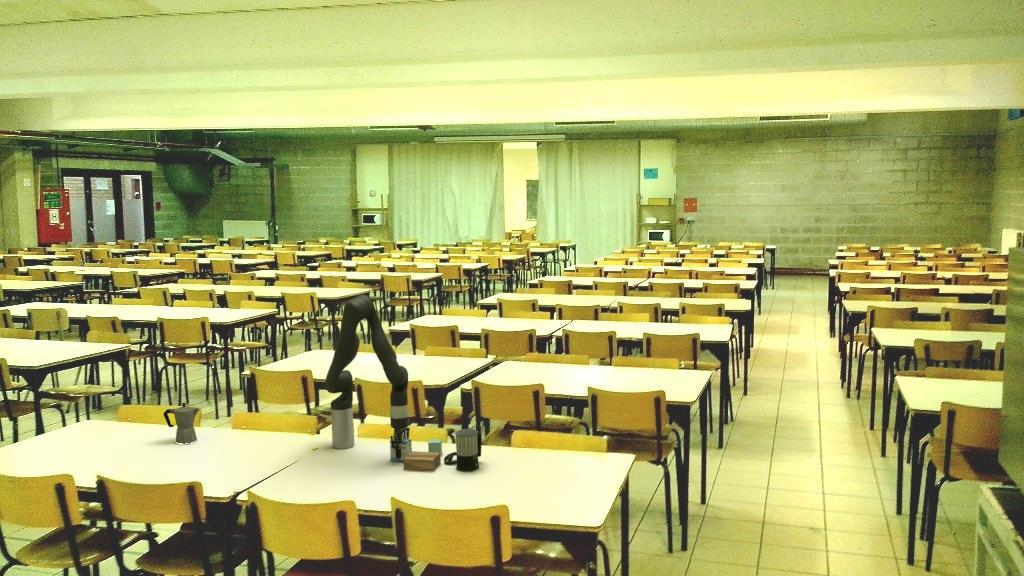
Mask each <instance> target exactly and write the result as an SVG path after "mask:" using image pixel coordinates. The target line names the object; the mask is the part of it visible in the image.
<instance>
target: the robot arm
mask: <svg viewBox="0 0 1024 576" xmlns="http://www.w3.org/2000/svg"><path fill="white" fill-rule="evenodd" d="M364 319H366V321H367V323H368V325H369V330H370V337H371V345H372V346H371V347H372V350H373V351H374V353H375V356H376V357H377V359H378V361H379V362H380V365H381V366H382V369H383V372H384V374H385V377H386V379H387V380H388V382H389V383H390V384H391V391H390V395H389V397H390V398H389V400H390V401H389V402H390V403H389V404H390V409H389V412H390V413H389V414H390V415H389V416H390V427H391V429H393V435H390V440H391V443H392V448H393V449H395V452H396V458H401V443H402V441H403V439H410V429H411V428H410V414H409V413H410V412H409V410H410V409H409V402H408V401H409V400H408V399H409V397H408V389H409V372H408V370H407V368H406V367H405V366H403V365H399V363H398V359H397V358H398V357H397V354H396V351H395V350H394V348H393V347H392V345H391V343H390V342H389V339H388V337H387V336H386V333H385V331H384V328H383V326H382V325H383V324H382V323H381V320H380V317H379V314H378V312H377V310H376V307H375V305H374V302H373V300H372V299H371V298H370V297H369V296H368V295H366V294H359V295H358V296H356V297H353V298H351V299H350V300H348V301H347V302H346V303H345V304H344V306H343V309H342V317H341V325H340V329H339V334H338V338H337V340H336V341H337V342H336V345H335V347H334V353H333V358H332V361H331V363H330V365H329V369H328V371H327V374H326V377H325V389H326V392H328V393H330V394H339V395H338V397H336V398H335V399H333V400H331V402H330V415H331V416H330V421H331V422H330V423H331V440H332V441H331V442H332V443H331V444H332V448H334V449H336V448H337V449H336V450H345V449H350V448H353V447H354V446H355V427H354V426H355V425H354V412H353V411H354V410H353V400H354V394H353V393H354V392H353V391H354V390H353V389H354V379H353V375H352V373H351V371H350V370H347V369H346V367H348V366H349V365H350V364H351V363H352V362H353V361H354V360H355V358H356V357H357V355H358V352H359V348H360V345H361V344H360V343H361V342H360V338H359V335H358V333H357V329H358V326H359V324H360V322H362V321H363V320H364ZM398 440H400V441H398ZM398 443H399V444H398ZM394 444H395V445H394Z"/></svg>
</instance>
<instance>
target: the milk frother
mask: <svg viewBox="0 0 1024 576" xmlns="http://www.w3.org/2000/svg"><path fill="white" fill-rule="evenodd" d="M454 434H455V447H456V448H455V450H456V451H453V452H451V453H448V454H446V456H444V458H443V463H445V464H446V465H451V466H453V465H456V467H455V469H456V470H457V471H459V472H464V473H465V472H473V471H477V470H479V469H480V465H479V464H480V463H479V457H482V433H480V431H478V430H477V429H473V428H462V429H458V430H456V431H455V432H454ZM454 456H456V460H453V459H454ZM452 460H453V461H452Z"/></svg>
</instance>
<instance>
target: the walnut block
mask: <svg viewBox="0 0 1024 576" xmlns="http://www.w3.org/2000/svg"><path fill="white" fill-rule="evenodd" d="M441 459H442V458H441V457H440V453H437V452H428V451H417V450H416V451H413V450H412V452H411V453H410V454H408V455H407V456H406V457H405V458H404V462H403V471H405V470H407V471H410V472H423V471H433V472H434V471H436V469H437V468H439V466H440V465H441V463H442V461H441ZM407 471H406V472H407Z"/></svg>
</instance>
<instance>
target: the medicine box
mask: <svg viewBox="0 0 1024 576" xmlns="http://www.w3.org/2000/svg"><path fill="white" fill-rule="evenodd" d="M398 441H400V440H398ZM398 444H399V443H398ZM394 445H395V444H394ZM412 445H413V444H412V438H411V439H410V438H409V439H403V441H402V443H401V458H396V452H395V449H393V448H392V443H391V439H390V440H389V446H390V447H389V450H390V453H389V454H390V456H389V457H390V458H389V459H390V461H391V462H399V463H402V462H403V463H404V458H405V457H406V456H407V455H408V454H410V453H411V452H412V451H413V450H412Z"/></svg>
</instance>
